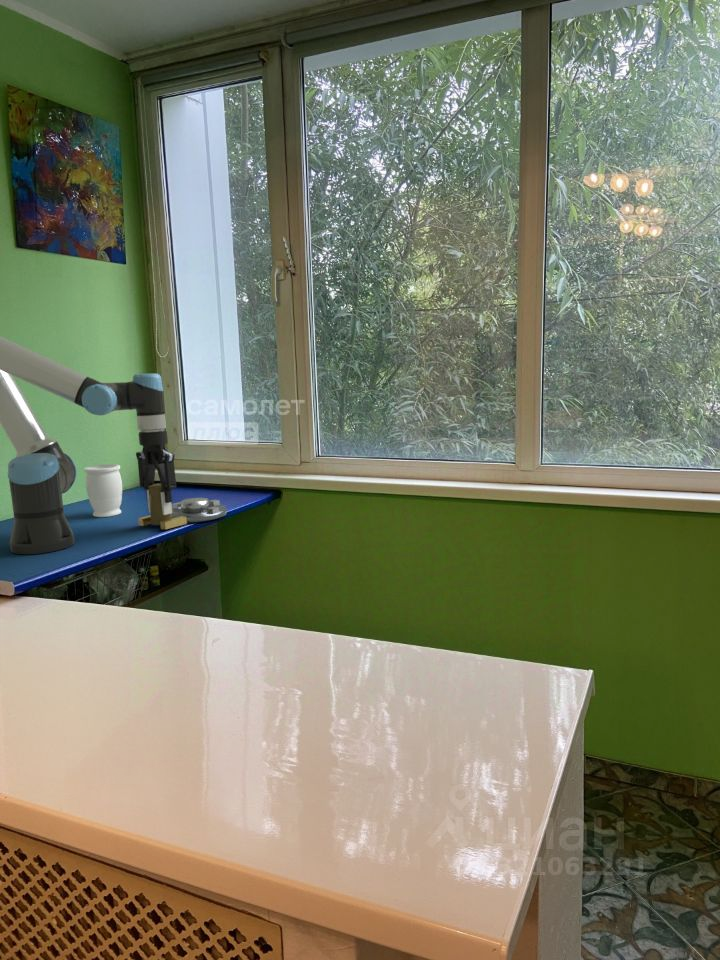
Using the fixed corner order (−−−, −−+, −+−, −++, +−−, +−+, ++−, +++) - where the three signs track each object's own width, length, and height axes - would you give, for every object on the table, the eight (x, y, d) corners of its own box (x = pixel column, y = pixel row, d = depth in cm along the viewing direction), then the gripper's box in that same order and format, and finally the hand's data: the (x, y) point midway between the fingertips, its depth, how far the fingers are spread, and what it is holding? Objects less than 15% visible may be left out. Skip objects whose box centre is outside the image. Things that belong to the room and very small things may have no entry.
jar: (117, 517, 212) (112, 468, 209) (83, 519, 212) (78, 469, 209) (129, 510, 222) (125, 463, 220) (97, 511, 222) (92, 464, 220)
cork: (160, 525, 194) (157, 486, 192) (145, 523, 197) (141, 485, 195) (177, 521, 199) (173, 482, 197) (162, 519, 202) (158, 481, 200)
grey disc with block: (197, 506, 221) (196, 492, 220) (239, 512, 210) (238, 497, 210) (131, 524, 200) (129, 508, 200) (173, 530, 190) (172, 514, 189)
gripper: (185, 429, 191) (192, 513, 195) (142, 428, 202) (150, 507, 206) (163, 432, 185) (171, 518, 189) (120, 431, 196) (128, 512, 200)
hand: (160, 512), depth 197 cm, fingers closed on cork, 5 cm apart
